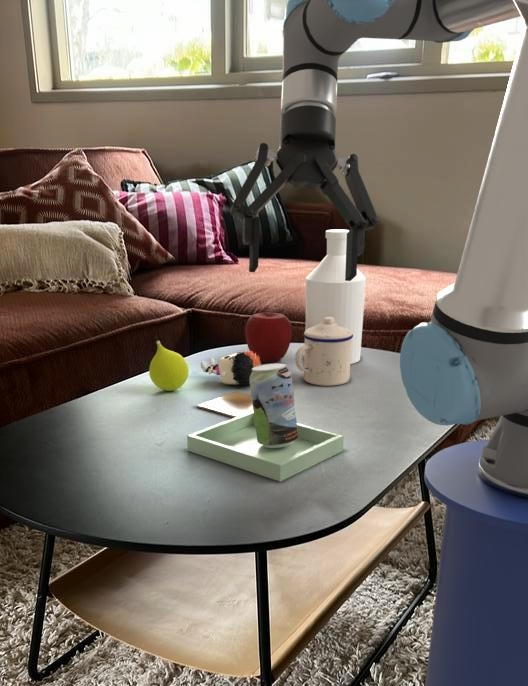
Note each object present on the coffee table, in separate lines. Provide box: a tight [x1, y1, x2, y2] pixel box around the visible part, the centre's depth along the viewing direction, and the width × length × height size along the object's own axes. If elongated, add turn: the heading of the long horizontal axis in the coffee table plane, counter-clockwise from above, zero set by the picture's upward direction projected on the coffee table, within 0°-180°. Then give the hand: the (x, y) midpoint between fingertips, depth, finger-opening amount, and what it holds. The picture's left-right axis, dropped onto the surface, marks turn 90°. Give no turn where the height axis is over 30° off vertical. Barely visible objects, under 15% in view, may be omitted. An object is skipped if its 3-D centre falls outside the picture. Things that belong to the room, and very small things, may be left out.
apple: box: [244, 311, 293, 363], centre depth 155 cm, size 10×10×10 cm
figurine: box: [200, 350, 262, 387], centre depth 143 cm, size 7×6×12 cm
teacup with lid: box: [294, 317, 353, 387], centre depth 141 cm, size 12×9×12 cm
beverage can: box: [249, 362, 298, 448], centre depth 110 cm, size 6×7×12 cm
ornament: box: [148, 337, 189, 392], centre depth 138 cm, size 7×7×10 cm
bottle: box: [305, 229, 367, 365], centre depth 153 cm, size 12×12×25 cm
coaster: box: [196, 391, 253, 418], centre depth 131 cm, size 10×10×1 cm
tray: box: [186, 411, 345, 482], centre depth 111 cm, size 18×15×2 cm
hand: (302, 274), depth 103 cm, fingers open, 13 cm apart
